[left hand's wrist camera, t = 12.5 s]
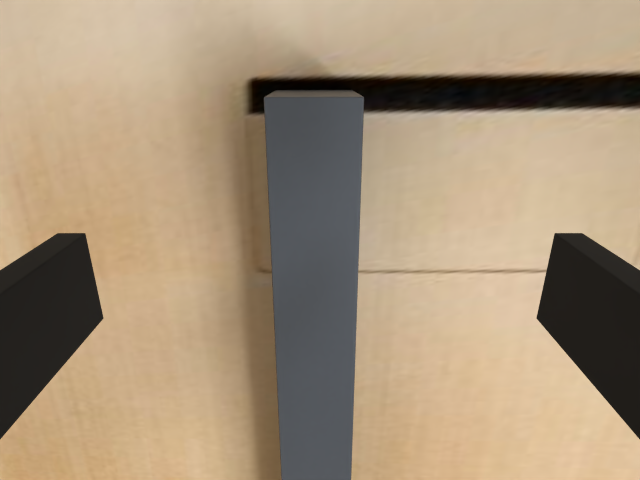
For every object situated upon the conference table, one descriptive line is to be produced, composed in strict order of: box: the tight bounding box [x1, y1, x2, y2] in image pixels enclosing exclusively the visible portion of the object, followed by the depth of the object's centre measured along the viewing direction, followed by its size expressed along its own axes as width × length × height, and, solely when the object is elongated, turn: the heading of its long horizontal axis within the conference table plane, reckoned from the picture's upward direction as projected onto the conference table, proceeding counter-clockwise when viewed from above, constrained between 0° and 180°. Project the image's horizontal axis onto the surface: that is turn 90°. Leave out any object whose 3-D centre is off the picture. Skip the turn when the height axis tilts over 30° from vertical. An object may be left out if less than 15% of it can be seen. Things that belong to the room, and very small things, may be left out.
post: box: [264, 90, 364, 480], centre depth 38 cm, size 55×6×8 cm, turn 0°
